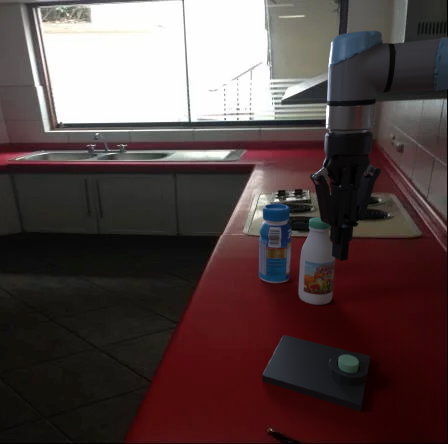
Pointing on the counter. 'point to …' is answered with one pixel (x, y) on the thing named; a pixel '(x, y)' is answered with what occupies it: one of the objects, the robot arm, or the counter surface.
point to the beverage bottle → (275, 244)
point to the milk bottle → (317, 265)
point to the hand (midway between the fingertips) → (339, 257)
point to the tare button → (348, 363)
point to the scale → (317, 372)
